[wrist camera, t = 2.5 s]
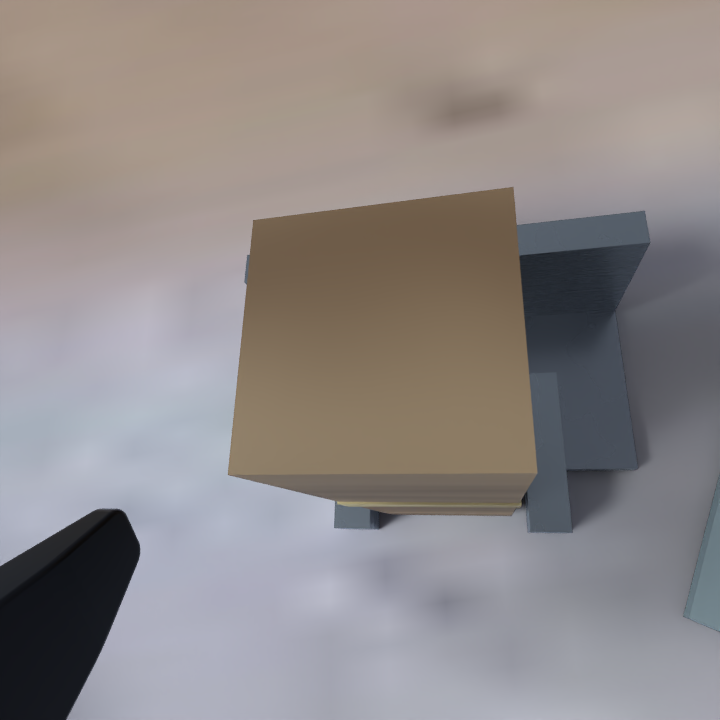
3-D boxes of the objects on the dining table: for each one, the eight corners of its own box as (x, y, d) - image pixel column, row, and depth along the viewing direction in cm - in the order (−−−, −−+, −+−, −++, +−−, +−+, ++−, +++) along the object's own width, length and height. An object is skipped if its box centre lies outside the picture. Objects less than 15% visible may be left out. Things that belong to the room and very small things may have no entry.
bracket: (644, 534, 16) (701, 532, 12) (285, 527, 19) (219, 524, 15) (609, 289, 19) (644, 210, 15) (299, 314, 22) (247, 255, 17)
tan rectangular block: (512, 517, 17) (541, 477, 6) (389, 515, 18) (224, 478, 7) (504, 395, 18) (516, 183, 7) (389, 400, 19) (250, 217, 8)
